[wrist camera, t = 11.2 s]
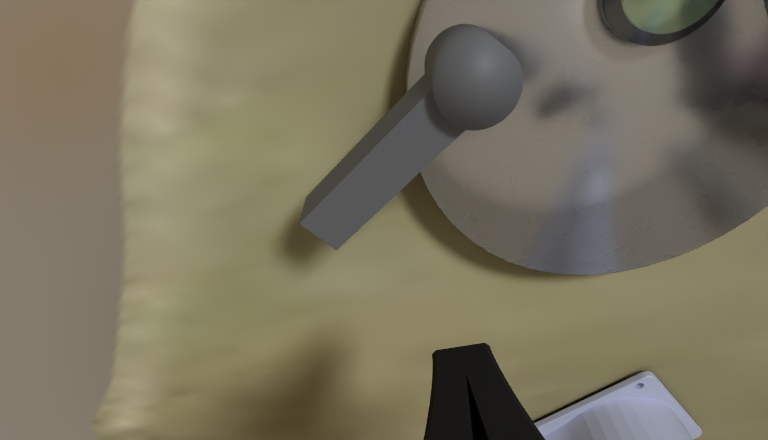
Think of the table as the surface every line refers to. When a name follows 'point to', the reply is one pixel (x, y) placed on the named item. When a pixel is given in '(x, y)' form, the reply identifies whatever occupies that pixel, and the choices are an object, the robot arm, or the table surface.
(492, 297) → the table surface
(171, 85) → the table surface
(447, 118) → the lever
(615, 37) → the levelling disc
